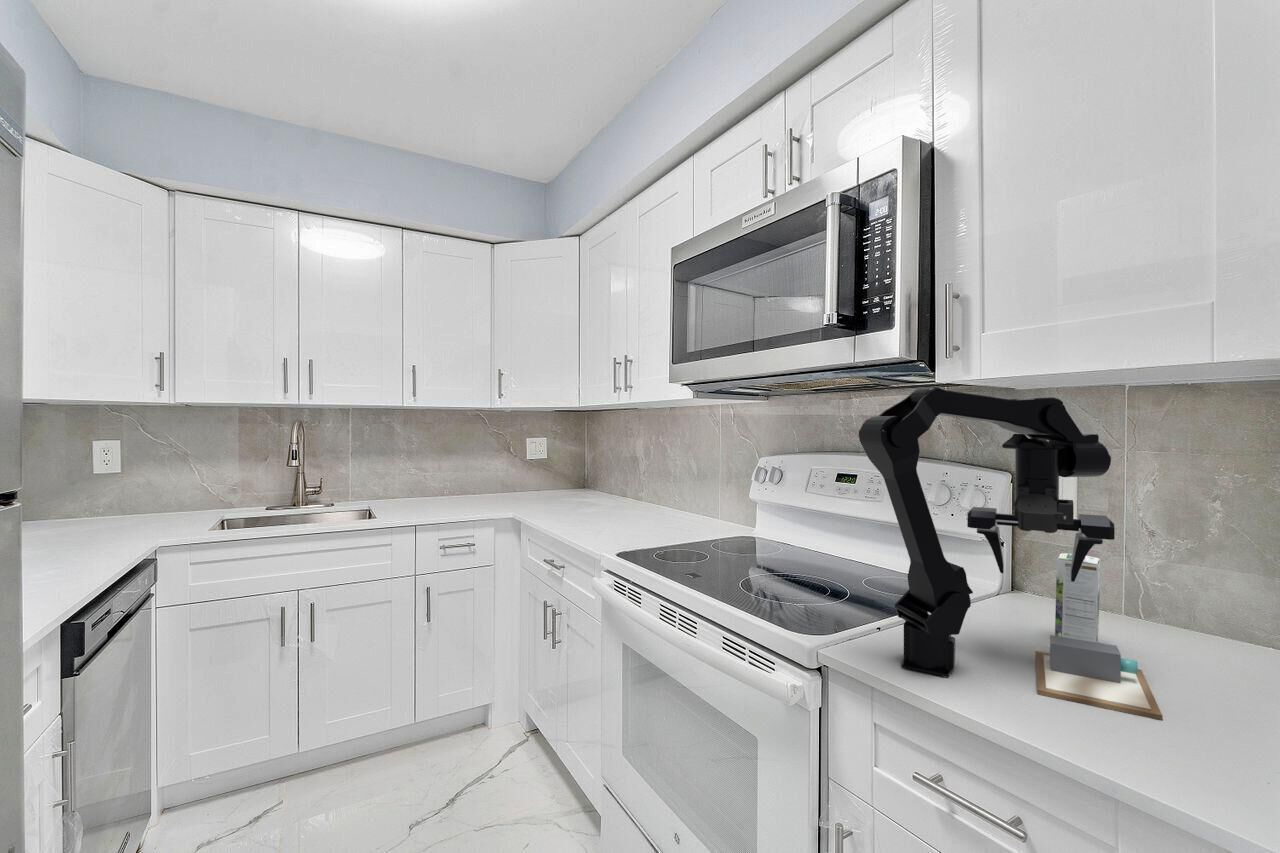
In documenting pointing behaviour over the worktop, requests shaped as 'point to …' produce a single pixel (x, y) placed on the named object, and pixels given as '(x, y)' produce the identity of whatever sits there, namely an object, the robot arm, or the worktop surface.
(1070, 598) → the syrup box
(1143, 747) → the worktop surface
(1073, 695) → the clipboard
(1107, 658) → the gray block
